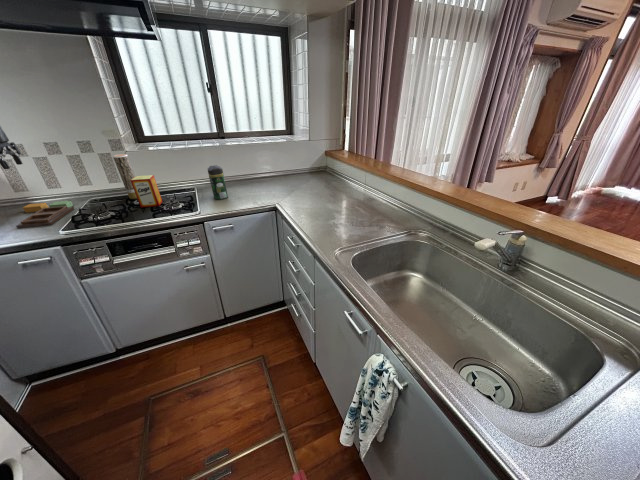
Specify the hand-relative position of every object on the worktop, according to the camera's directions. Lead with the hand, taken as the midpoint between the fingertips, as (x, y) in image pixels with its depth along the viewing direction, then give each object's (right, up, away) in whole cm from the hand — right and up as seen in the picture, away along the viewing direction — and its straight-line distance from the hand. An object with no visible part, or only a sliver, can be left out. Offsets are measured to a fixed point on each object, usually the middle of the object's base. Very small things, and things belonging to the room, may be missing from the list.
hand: (13, 166), depth 132 cm
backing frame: (+12, -25, +5) cm, 28 cm away
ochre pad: (-4, -20, +14) cm, 25 cm away
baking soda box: (+57, -17, +19) cm, 62 cm away
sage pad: (+8, -19, +17) cm, 26 cm away
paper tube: (+41, -11, +29) cm, 51 cm away
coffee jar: (+93, -11, +28) cm, 98 cm away
